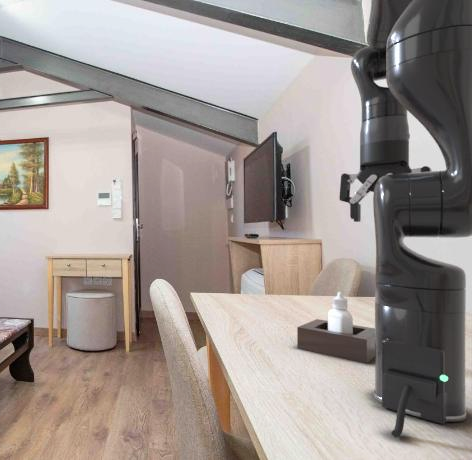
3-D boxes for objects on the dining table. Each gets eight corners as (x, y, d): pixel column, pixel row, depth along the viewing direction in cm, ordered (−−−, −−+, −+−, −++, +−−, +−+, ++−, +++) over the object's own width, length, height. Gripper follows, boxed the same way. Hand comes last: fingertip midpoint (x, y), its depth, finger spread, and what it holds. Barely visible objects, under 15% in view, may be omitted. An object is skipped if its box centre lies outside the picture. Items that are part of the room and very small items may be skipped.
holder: (366, 363, 71) (366, 339, 71) (297, 348, 80) (297, 327, 80) (382, 351, 78) (382, 329, 78) (316, 338, 87) (316, 319, 87)
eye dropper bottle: (325, 350, 79) (325, 292, 79) (328, 344, 83) (328, 289, 83) (352, 355, 76) (352, 295, 76) (354, 348, 80) (354, 291, 80)
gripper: (335, 145, 81) (335, 221, 81) (429, 132, 70) (429, 220, 70) (346, 150, 85) (345, 222, 86) (435, 138, 74) (435, 221, 74)
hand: (383, 221), depth 78 cm, fingers open, 8 cm apart
